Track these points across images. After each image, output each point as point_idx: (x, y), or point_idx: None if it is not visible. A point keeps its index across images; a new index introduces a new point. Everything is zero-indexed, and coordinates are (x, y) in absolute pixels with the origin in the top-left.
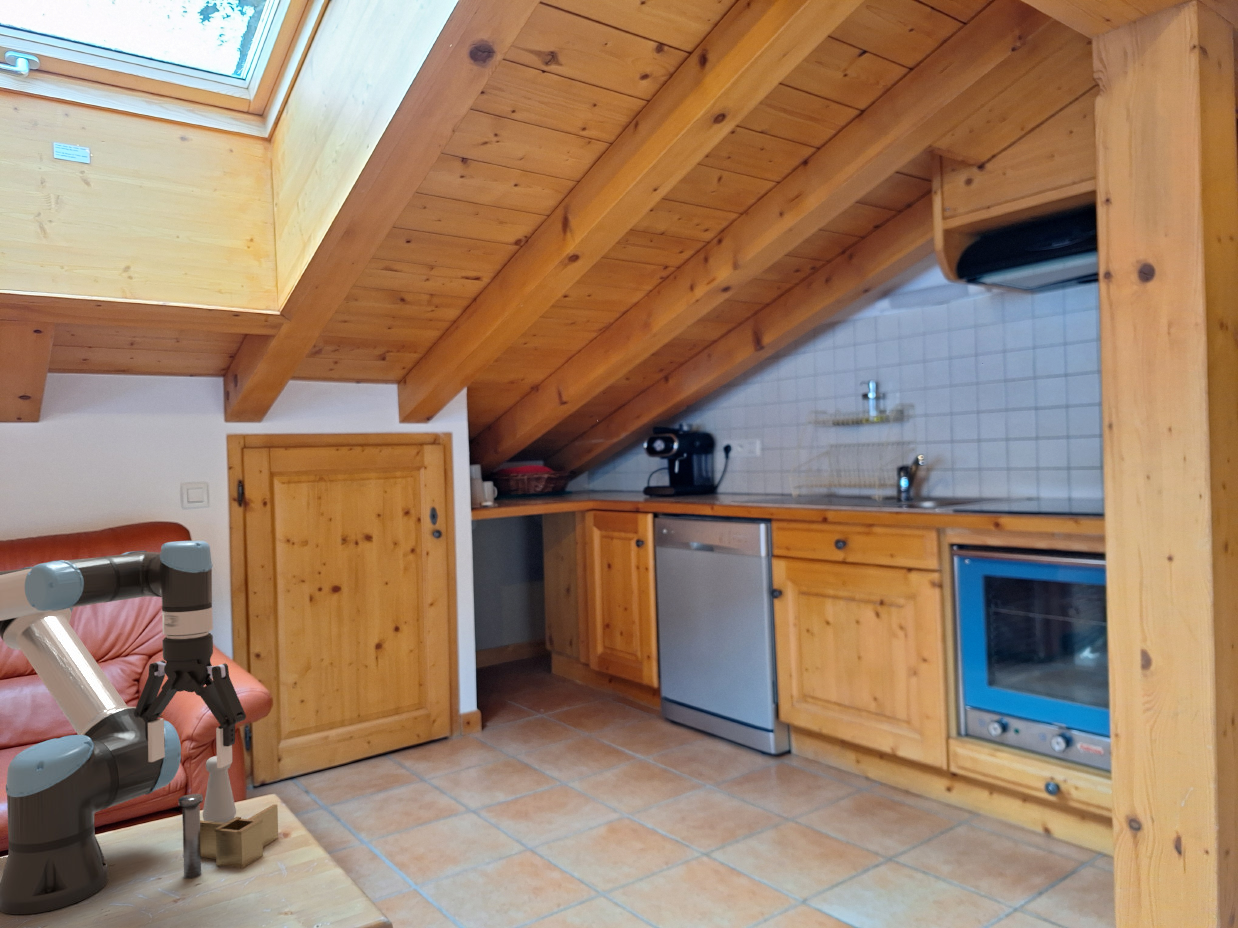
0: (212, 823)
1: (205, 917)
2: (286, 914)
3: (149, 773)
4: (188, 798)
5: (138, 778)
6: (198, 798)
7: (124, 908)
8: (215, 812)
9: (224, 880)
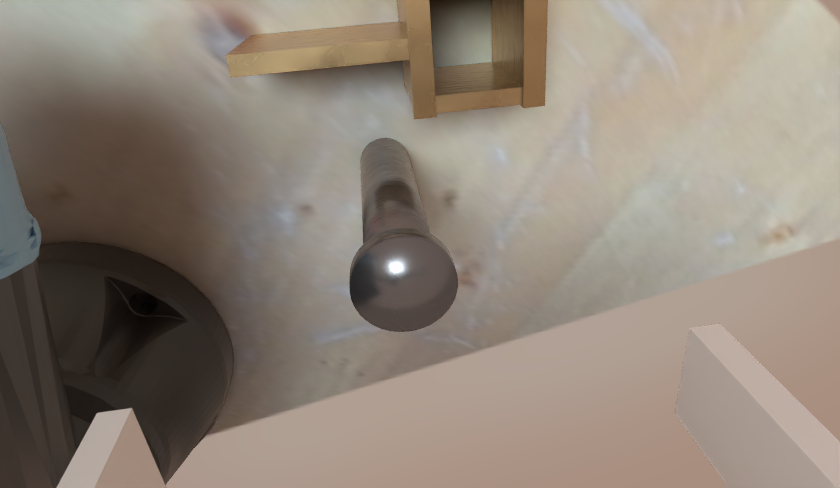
0: (345, 64)
1: (598, 309)
2: (781, 240)
3: (38, 336)
4: (404, 298)
5: (51, 387)
6: (452, 282)
7: (373, 344)
8: None
9: (509, 157)
